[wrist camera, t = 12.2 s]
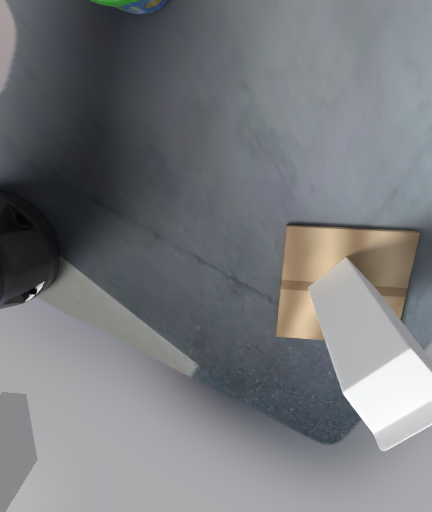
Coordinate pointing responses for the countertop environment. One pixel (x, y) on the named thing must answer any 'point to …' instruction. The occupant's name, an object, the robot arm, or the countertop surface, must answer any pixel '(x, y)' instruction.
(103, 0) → the snack cup
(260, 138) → the countertop surface
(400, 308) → the flat cardboard box
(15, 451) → the robot arm
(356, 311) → the milk
